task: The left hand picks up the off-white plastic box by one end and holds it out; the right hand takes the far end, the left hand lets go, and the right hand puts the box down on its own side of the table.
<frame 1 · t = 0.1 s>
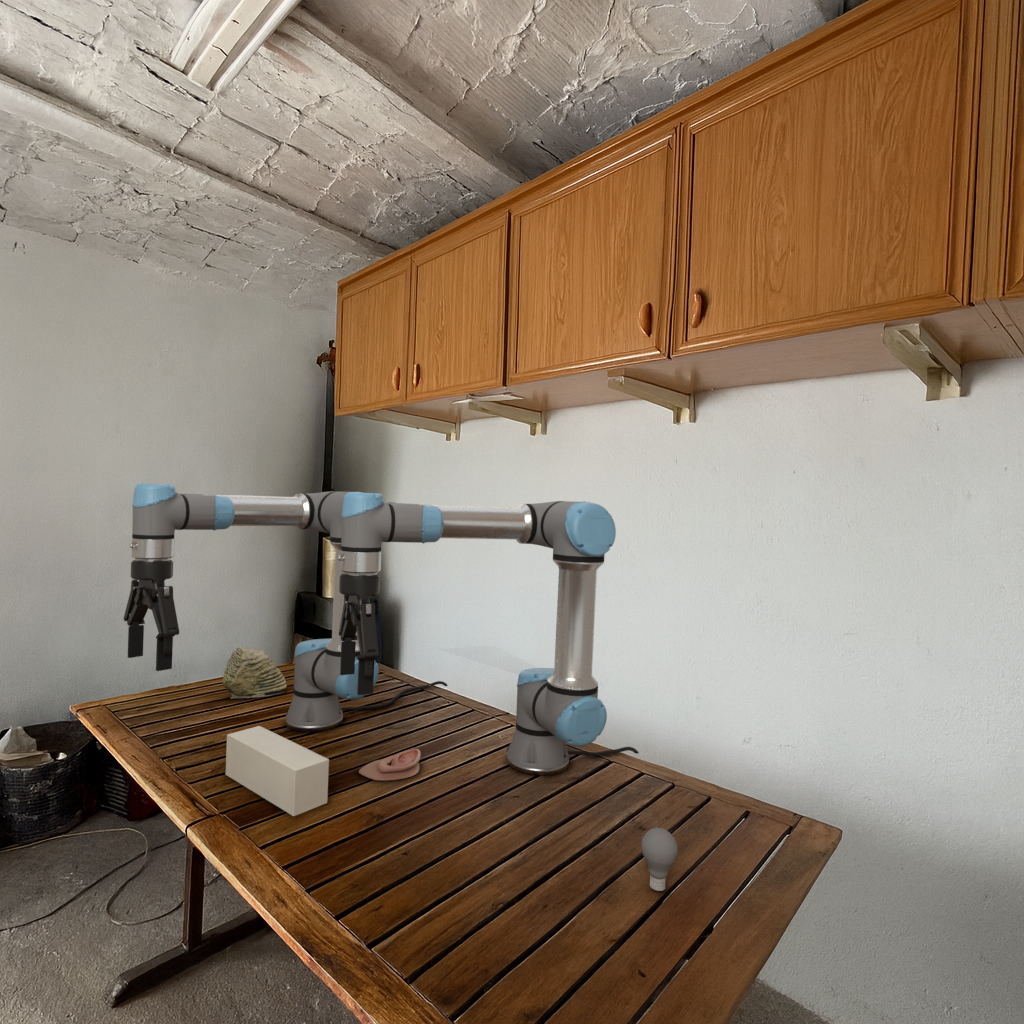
left hand: (149, 663, 129), 28 cm above the table, tool pointing down, fingers open, 13 cm apart
right hand: (355, 683, 121), 28 cm above the table, tool pointing down, fingers open, 13 cm apart
box: (274, 788, 137), on the table
light bulb: (657, 890, 106), on the table
fossil: (254, 694, 198), on the table
anatomical model: (390, 771, 147), on the table
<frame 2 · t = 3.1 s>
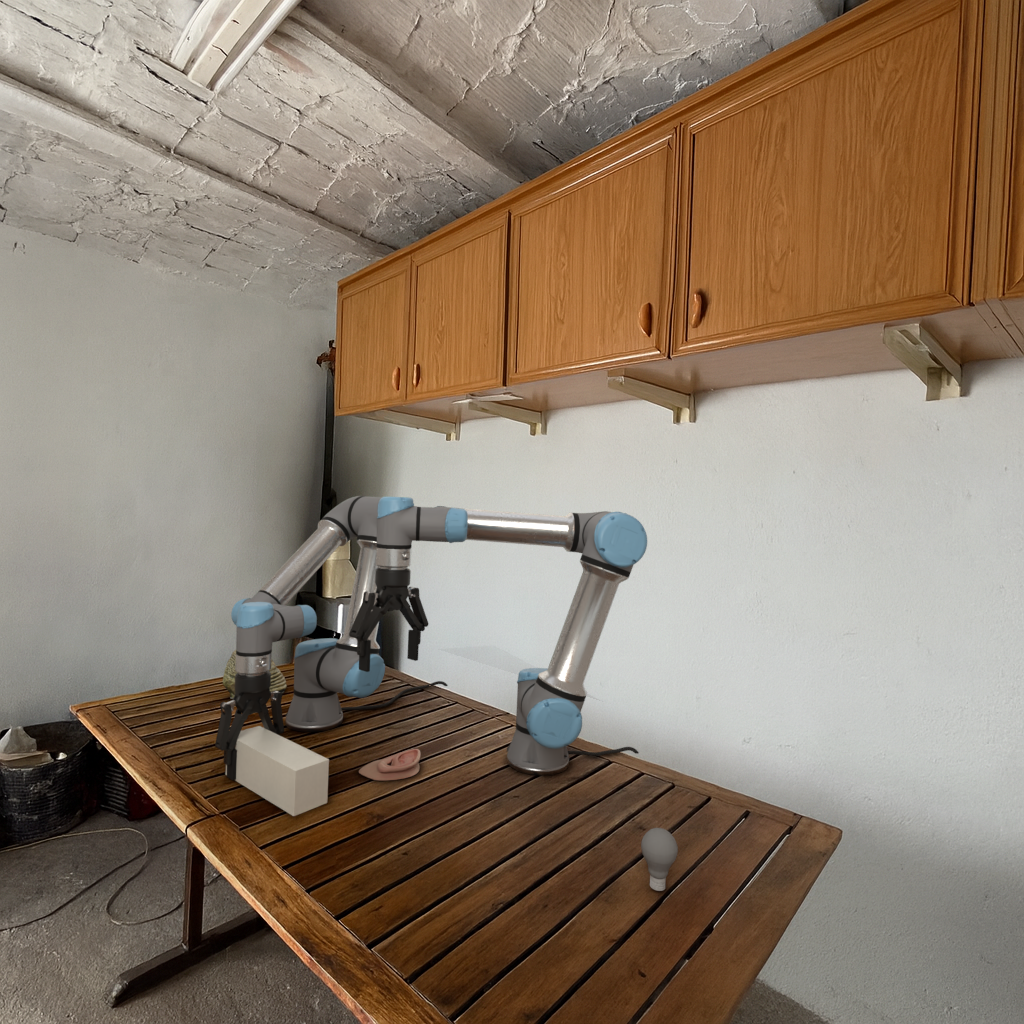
left hand: (249, 771, 143), 0 cm above the table, tool pointing down, fingers closed on box, 8 cm apart
right hand: (389, 664, 138), 27 cm above the table, tool pointing down, fingers open, 13 cm apart
box: (274, 788, 137), on the table, touching left hand
everything else where it was.
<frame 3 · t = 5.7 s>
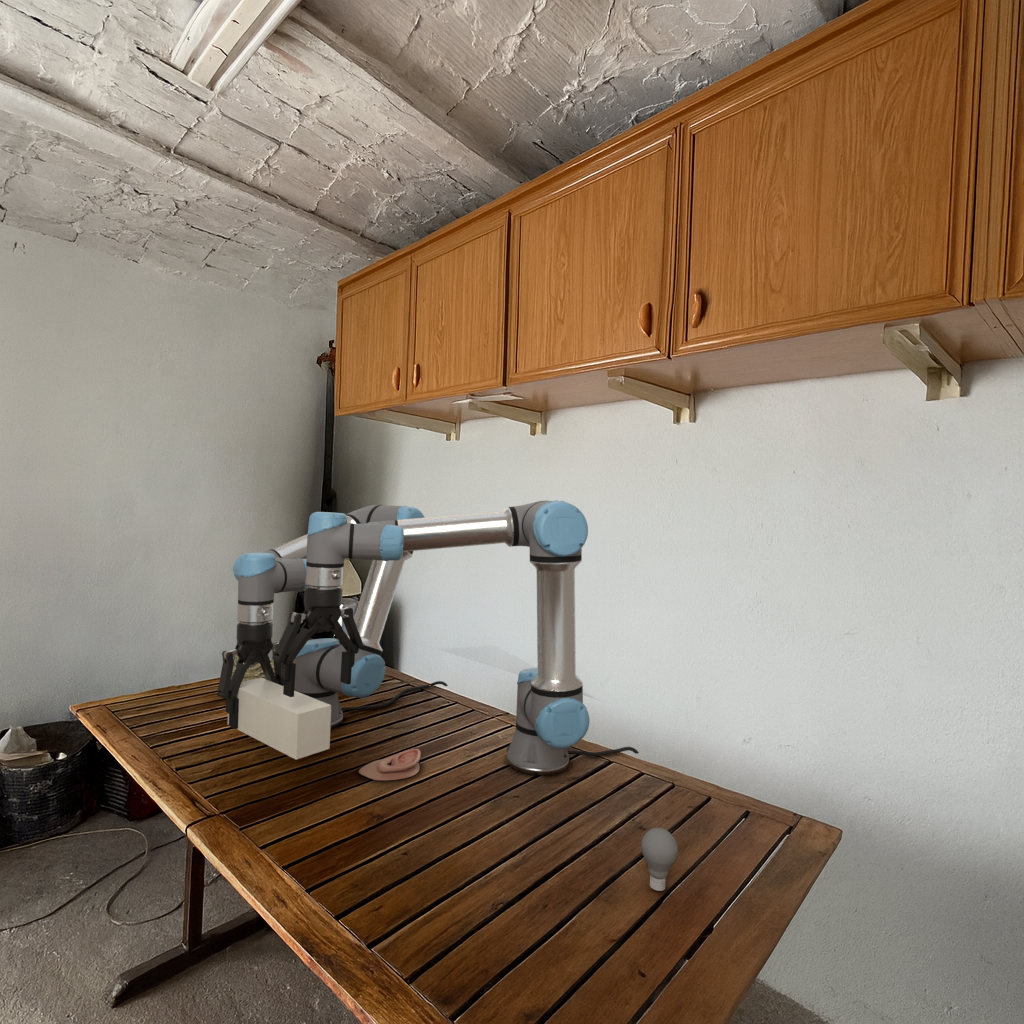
left hand: (251, 722, 143), 12 cm above the table, tool pointing down, fingers closed on box, 8 cm apart
right hand: (318, 689, 131), 24 cm above the table, tool pointing down, fingers open, 13 cm apart
box: (276, 736, 137), point 11 cm above the table, touching left hand
everything else where it was.
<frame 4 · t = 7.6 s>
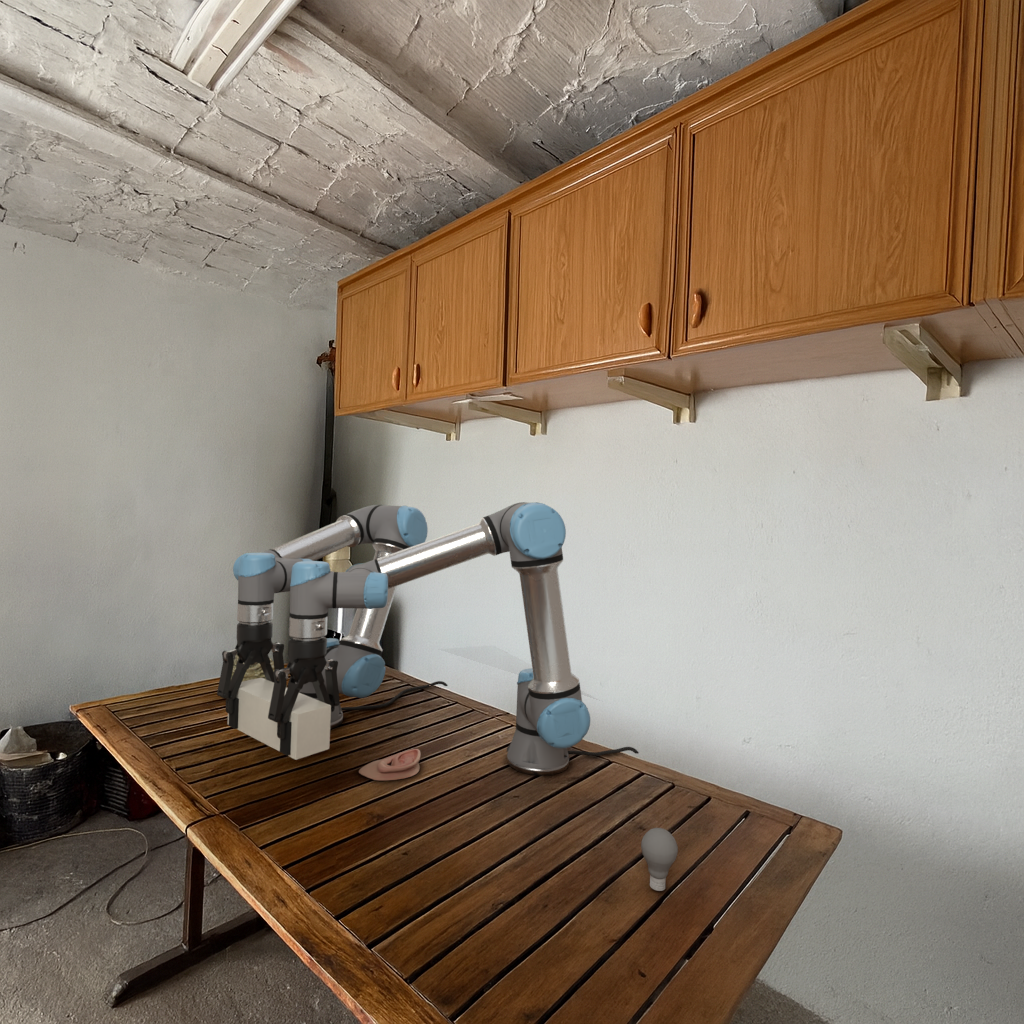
left hand: (251, 722, 143), 12 cm above the table, tool pointing down, fingers closed on box, 8 cm apart
right hand: (303, 747, 130), 12 cm above the table, tool pointing down, fingers closed on box, 8 cm apart
box: (276, 736, 137), point 11 cm above the table, touching left hand, right hand
everything else where it was.
when the left hand's fingers open (12 cm above the table, at t = 8.7 s): box stays where it is, held by the right hand.
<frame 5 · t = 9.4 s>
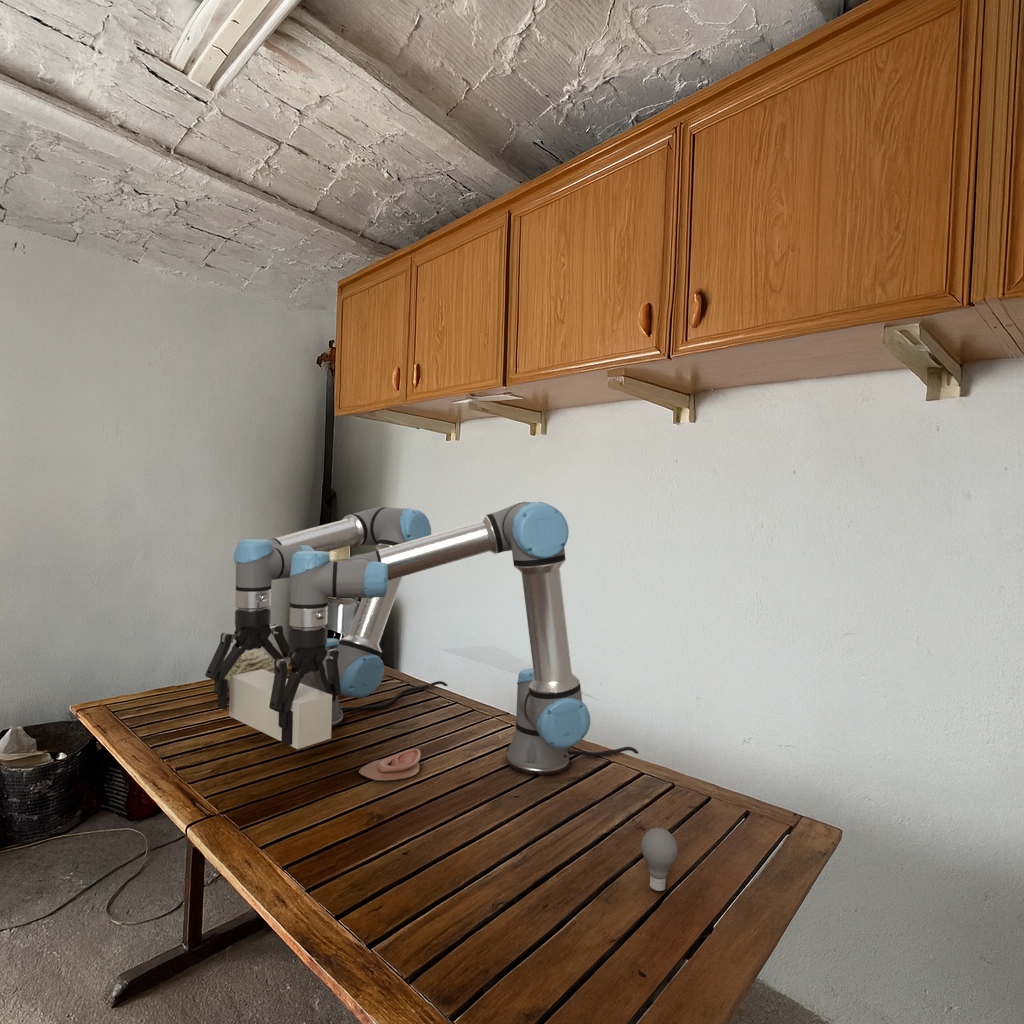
left hand: (251, 700, 144), 16 cm above the table, tool pointing down, fingers open, 13 cm apart
right hand: (305, 736, 130), 14 cm above the table, tool pointing down, fingers closed on box, 8 cm apart
box: (278, 726, 137), point 13 cm above the table, touching right hand
everything else where it was.
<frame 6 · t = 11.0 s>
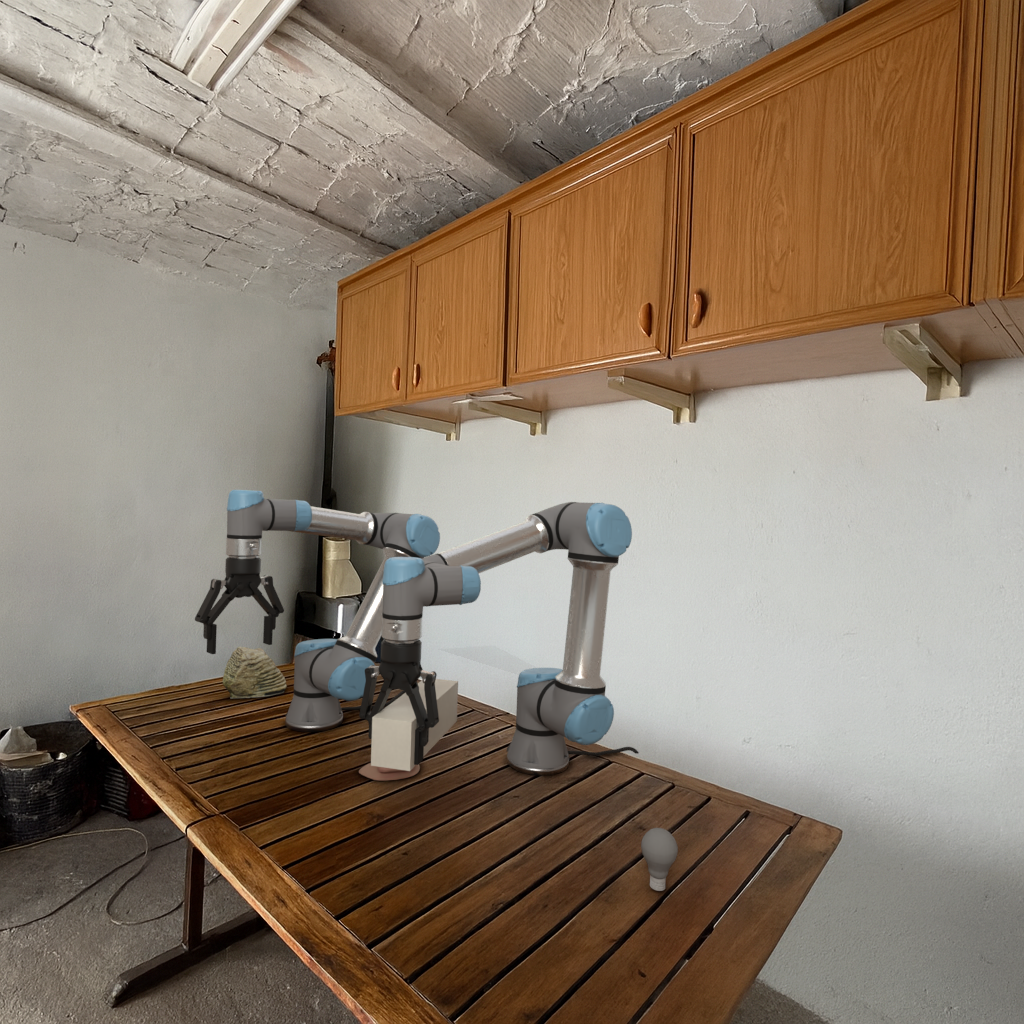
left hand: (240, 648, 146), 27 cm above the table, tool pointing down, fingers open, 13 cm apart
right hand: (397, 758, 120), 14 cm above the table, tool pointing down, fingers closed on box, 8 cm apart
box: (417, 741, 130), point 14 cm above the table, touching right hand
everything else where it was.
when the right hand's fingers open (1 cm above the table, at t = 14.7 s): box stays where it is, on the table.
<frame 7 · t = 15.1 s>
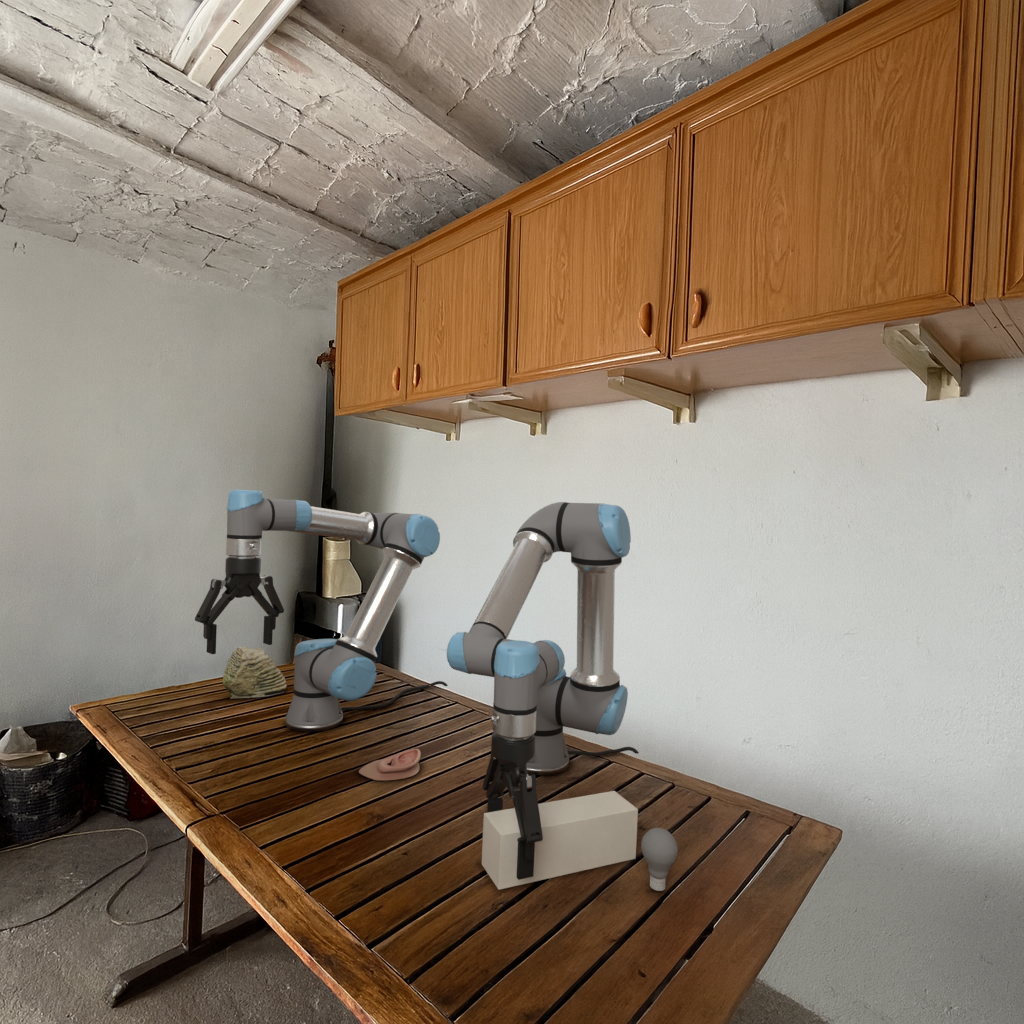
left hand: (240, 648, 146), 27 cm above the table, tool pointing down, fingers open, 13 cm apart
right hand: (508, 855, 109), 3 cm above the table, tool pointing down, fingers open, 13 cm apart
box: (559, 861, 114), on the table
everything else where it was.
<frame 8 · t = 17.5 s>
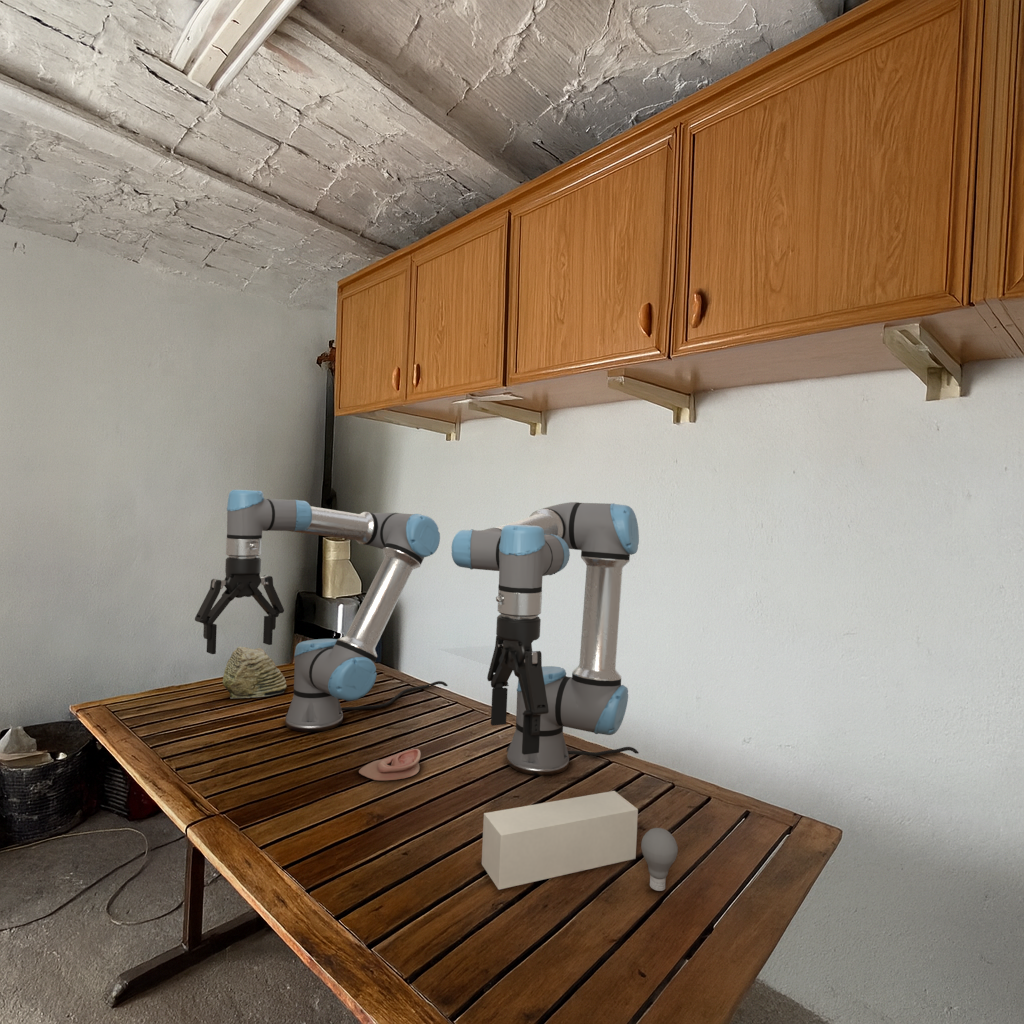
left hand: (240, 648, 146), 27 cm above the table, tool pointing down, fingers open, 13 cm apart
right hand: (513, 738, 109), 23 cm above the table, tool pointing down, fingers open, 13 cm apart
nothing on the table moved.
at the end: box inside the target area (10.2 cm from its centre), on the table; the left hand is holding nothing; the right hand is holding nothing; box at rest at the end (0.0 cm/s) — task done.
